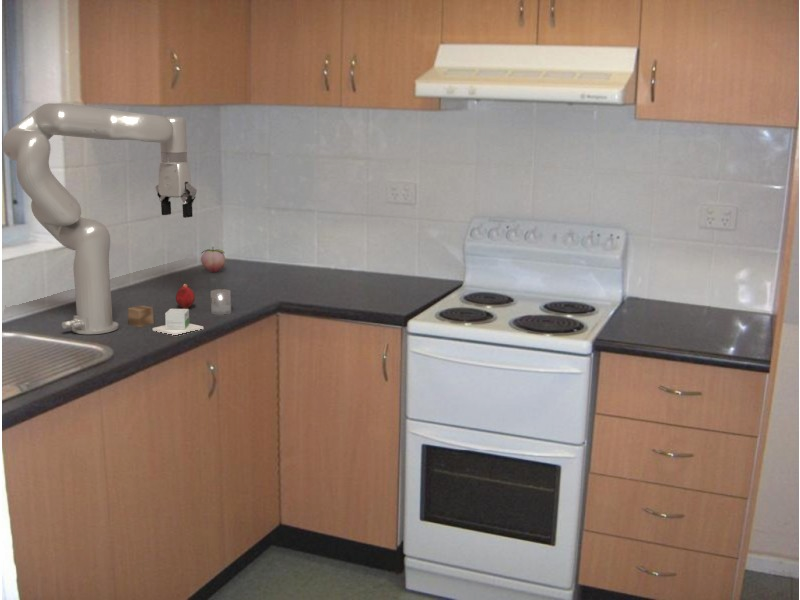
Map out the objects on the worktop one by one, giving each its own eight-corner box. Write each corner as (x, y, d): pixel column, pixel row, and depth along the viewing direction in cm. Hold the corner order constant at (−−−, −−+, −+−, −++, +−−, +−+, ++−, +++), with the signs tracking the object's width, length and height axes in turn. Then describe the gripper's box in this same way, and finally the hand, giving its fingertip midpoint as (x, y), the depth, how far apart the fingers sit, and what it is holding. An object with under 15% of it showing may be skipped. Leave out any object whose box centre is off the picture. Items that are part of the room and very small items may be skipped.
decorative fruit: (228, 270, 342) (227, 245, 340) (224, 274, 334) (223, 248, 332) (203, 270, 342) (202, 245, 339) (199, 274, 334) (198, 248, 331)
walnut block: (139, 327, 254) (138, 310, 253) (128, 324, 257) (127, 308, 256) (153, 324, 258) (152, 307, 257) (143, 321, 261) (142, 305, 260)
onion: (190, 311, 274) (189, 286, 272) (173, 310, 275) (172, 285, 273) (198, 307, 279) (197, 282, 277) (181, 306, 280) (180, 282, 278)
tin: (220, 316, 268) (219, 294, 266) (207, 313, 271) (206, 291, 270) (235, 312, 272) (234, 290, 271) (221, 310, 276) (221, 288, 274)
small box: (185, 329, 248) (184, 313, 247) (165, 329, 248) (164, 312, 247) (189, 324, 254) (189, 308, 252) (170, 324, 253) (169, 308, 252)
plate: (175, 336, 244) (175, 333, 244) (152, 330, 250) (152, 328, 250) (203, 329, 252) (203, 326, 252) (180, 324, 258) (180, 321, 258)
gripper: (145, 158, 262) (148, 214, 266) (183, 160, 252) (186, 219, 256) (165, 156, 268) (168, 212, 272) (203, 159, 258) (206, 217, 262)
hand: (177, 215), depth 264 cm, fingers open, 9 cm apart
